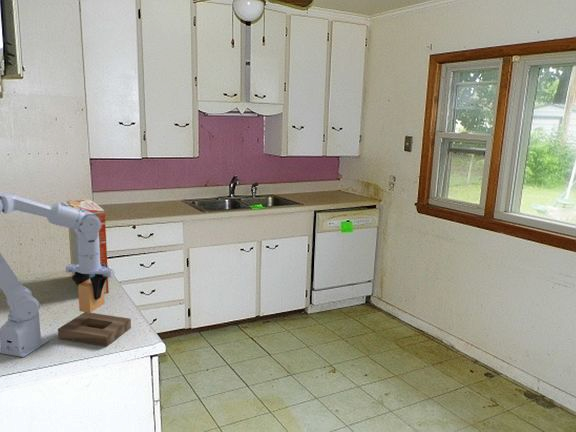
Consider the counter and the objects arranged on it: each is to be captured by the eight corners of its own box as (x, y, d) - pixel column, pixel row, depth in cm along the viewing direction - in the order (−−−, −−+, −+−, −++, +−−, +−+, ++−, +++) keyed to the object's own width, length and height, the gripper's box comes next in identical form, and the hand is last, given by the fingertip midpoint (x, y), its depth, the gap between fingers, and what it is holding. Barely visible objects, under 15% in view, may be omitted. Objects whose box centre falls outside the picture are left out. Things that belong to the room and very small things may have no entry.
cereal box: (108, 292, 164) (104, 210, 158) (84, 297, 160) (79, 212, 153) (93, 273, 183) (89, 199, 176) (71, 276, 178) (66, 200, 172)
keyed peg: (104, 303, 139) (103, 278, 137) (90, 312, 132) (88, 286, 131) (94, 302, 140) (93, 277, 138) (79, 311, 133) (77, 285, 131)
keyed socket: (107, 346, 127) (106, 336, 127) (58, 338, 131) (57, 328, 130) (131, 327, 139) (130, 318, 138) (85, 320, 142) (85, 311, 142)
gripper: (119, 251, 135) (121, 295, 138) (75, 247, 138) (78, 289, 141) (105, 258, 128) (107, 304, 131) (59, 253, 131) (62, 298, 134)
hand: (91, 297), depth 135 cm, fingers closed on keyed peg, 3 cm apart
